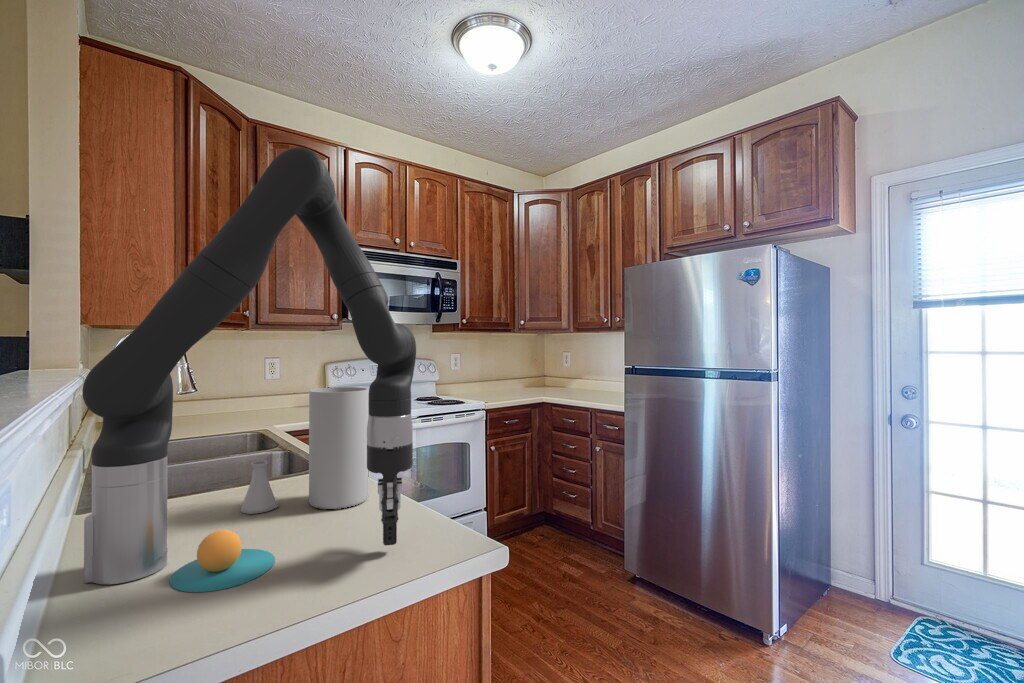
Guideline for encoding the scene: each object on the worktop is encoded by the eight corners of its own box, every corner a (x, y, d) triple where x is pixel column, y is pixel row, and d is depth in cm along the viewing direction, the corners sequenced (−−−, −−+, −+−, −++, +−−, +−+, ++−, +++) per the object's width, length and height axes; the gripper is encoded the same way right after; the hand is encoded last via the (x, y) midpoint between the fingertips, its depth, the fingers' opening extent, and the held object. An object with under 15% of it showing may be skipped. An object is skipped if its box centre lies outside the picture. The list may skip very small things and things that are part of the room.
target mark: (151, 598, 67) (151, 596, 67) (191, 555, 80) (191, 553, 80) (262, 585, 70) (262, 584, 70) (283, 546, 84) (283, 545, 84)
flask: (269, 501, 108) (269, 456, 108) (284, 508, 103) (284, 461, 103) (234, 509, 102) (234, 462, 102) (248, 517, 98) (249, 468, 98)
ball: (238, 539, 73) (231, 579, 73) (249, 525, 79) (242, 562, 78) (194, 537, 71) (186, 578, 71) (208, 523, 77) (201, 561, 77)
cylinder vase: (306, 513, 100) (306, 393, 100) (311, 495, 111) (311, 388, 112) (369, 507, 104) (369, 391, 104) (367, 490, 115) (367, 386, 116)
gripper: (368, 434, 87) (368, 530, 87) (364, 450, 74) (364, 563, 74) (410, 432, 89) (410, 526, 89) (414, 447, 76) (414, 557, 76)
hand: (389, 543), depth 81 cm, fingers closed
